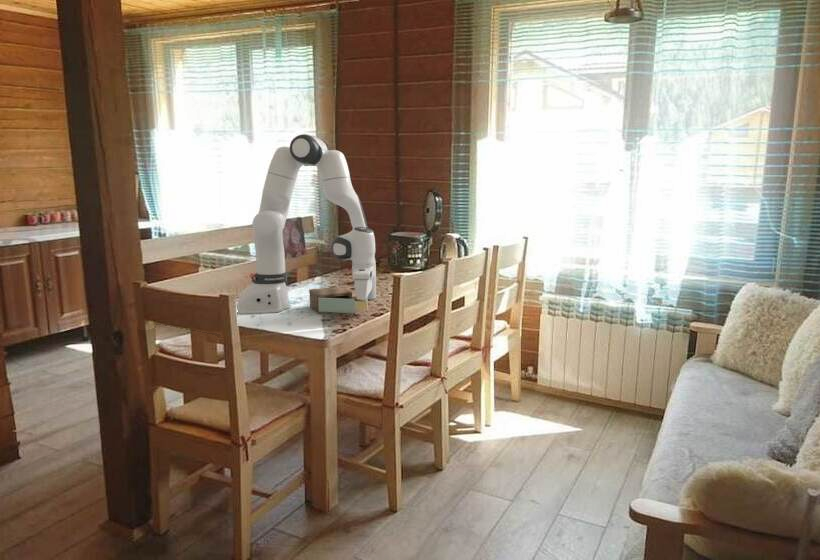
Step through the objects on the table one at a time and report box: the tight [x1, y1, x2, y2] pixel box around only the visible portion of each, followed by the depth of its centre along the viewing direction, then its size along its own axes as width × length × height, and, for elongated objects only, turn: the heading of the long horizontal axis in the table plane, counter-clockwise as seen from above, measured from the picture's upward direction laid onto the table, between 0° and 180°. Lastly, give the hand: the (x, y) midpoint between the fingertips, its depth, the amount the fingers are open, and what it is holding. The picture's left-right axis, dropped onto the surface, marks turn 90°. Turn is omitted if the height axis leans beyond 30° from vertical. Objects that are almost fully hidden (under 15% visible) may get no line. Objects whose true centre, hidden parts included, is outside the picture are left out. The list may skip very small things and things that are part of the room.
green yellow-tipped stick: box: [318, 298, 369, 314], centre depth 238 cm, size 19×1×5 cm, turn 80°
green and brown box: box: [308, 286, 353, 314], centre depth 248 cm, size 14×12×7 cm
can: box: [368, 274, 377, 301], centre depth 265 cm, size 8×8×12 cm
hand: (364, 306), depth 239 cm, fingers closed
